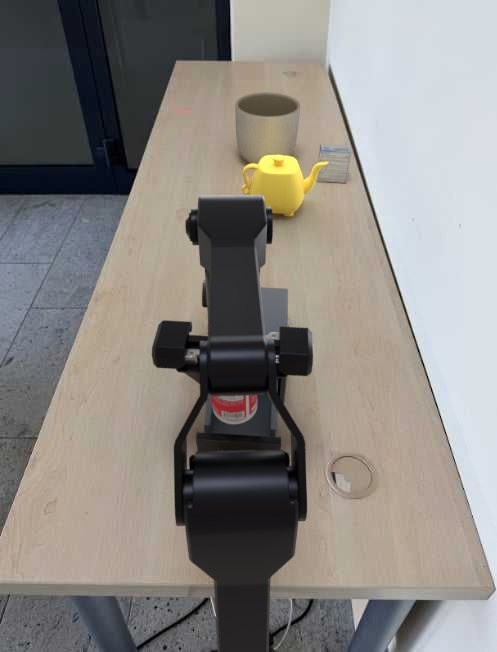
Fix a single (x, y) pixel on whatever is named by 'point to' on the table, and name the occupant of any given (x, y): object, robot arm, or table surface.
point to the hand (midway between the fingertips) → (234, 390)
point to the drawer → (240, 430)
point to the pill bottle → (234, 408)
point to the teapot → (280, 182)
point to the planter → (266, 125)
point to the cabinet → (275, 319)
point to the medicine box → (334, 163)
